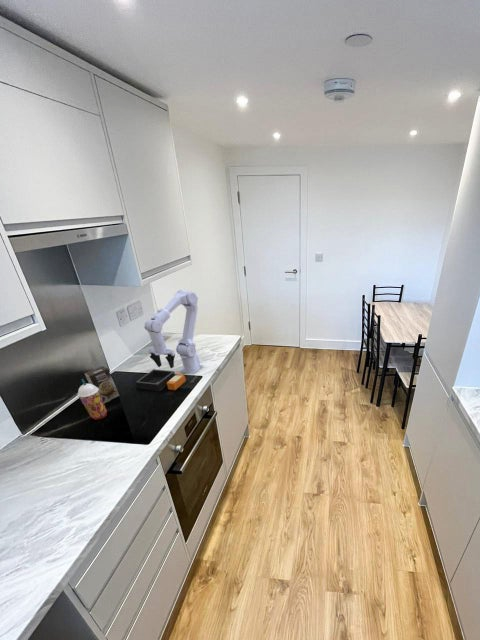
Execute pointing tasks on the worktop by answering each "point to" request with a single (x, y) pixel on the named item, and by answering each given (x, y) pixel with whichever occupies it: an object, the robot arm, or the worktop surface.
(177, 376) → the snack box
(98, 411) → the smoothie
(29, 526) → the worktop surface
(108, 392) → the coffee box
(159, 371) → the dark grey tray
